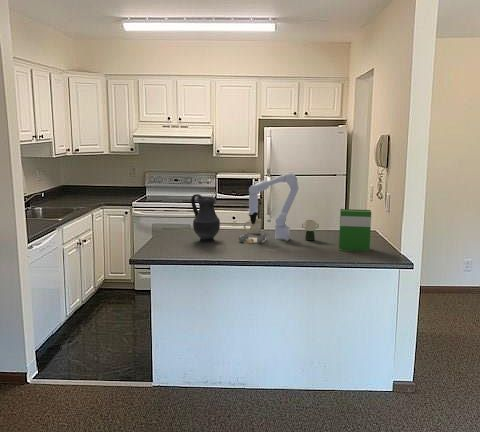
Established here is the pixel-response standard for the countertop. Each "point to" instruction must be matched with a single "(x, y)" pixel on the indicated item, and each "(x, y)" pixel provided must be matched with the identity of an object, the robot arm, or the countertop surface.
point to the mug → (254, 226)
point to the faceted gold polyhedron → (249, 240)
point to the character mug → (310, 229)
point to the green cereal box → (355, 229)
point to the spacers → (246, 236)
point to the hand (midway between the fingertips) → (253, 223)
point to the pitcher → (205, 218)
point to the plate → (255, 240)
